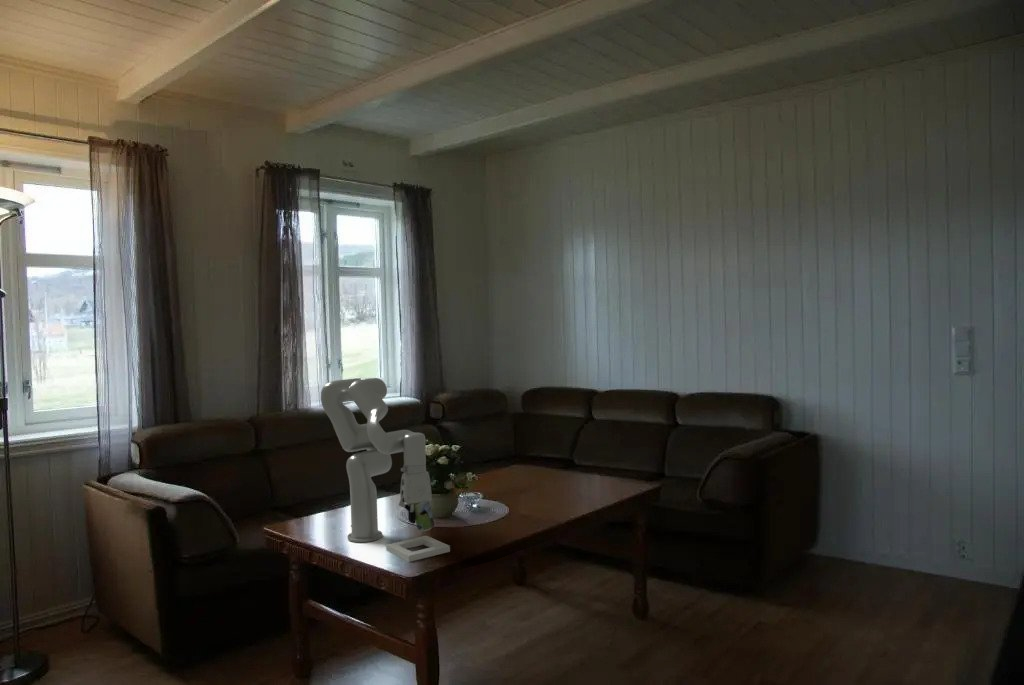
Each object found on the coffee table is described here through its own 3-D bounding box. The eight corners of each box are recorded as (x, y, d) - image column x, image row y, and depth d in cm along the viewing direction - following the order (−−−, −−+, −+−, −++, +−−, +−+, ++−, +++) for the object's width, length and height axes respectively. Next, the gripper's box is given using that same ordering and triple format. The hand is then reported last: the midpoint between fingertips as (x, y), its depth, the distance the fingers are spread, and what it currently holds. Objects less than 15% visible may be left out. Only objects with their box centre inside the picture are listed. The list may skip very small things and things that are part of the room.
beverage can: (438, 529, 254) (435, 494, 253) (420, 534, 249) (417, 499, 248) (427, 526, 258) (425, 492, 258) (410, 531, 254) (407, 496, 253)
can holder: (386, 550, 254) (386, 544, 254) (426, 540, 264) (426, 535, 263) (408, 562, 241) (408, 556, 241) (450, 551, 251) (449, 545, 251)
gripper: (399, 474, 244) (400, 528, 244) (440, 467, 253) (441, 520, 254) (388, 470, 250) (390, 523, 250) (429, 464, 259) (430, 515, 260)
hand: (416, 521), depth 252 cm, fingers closed on beverage can
